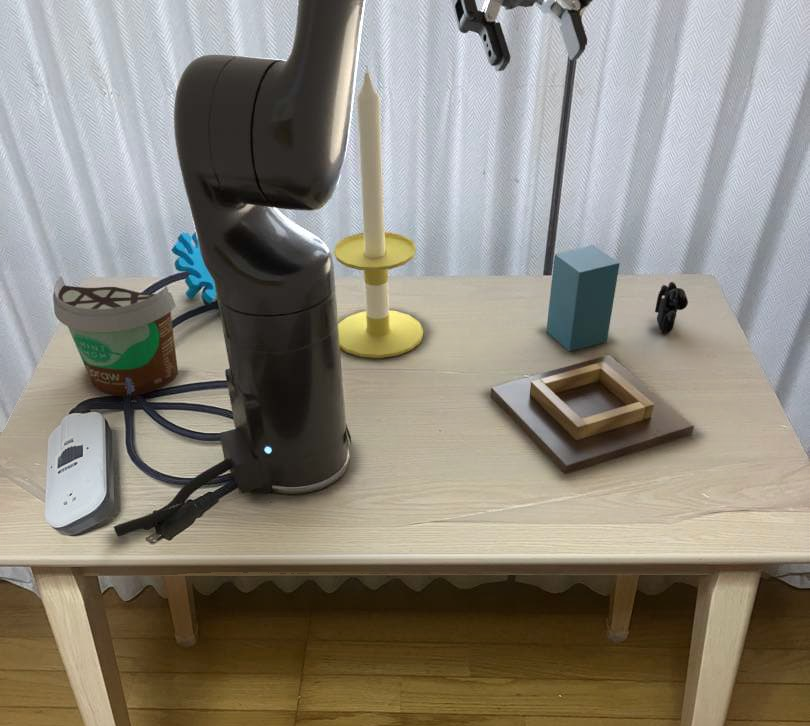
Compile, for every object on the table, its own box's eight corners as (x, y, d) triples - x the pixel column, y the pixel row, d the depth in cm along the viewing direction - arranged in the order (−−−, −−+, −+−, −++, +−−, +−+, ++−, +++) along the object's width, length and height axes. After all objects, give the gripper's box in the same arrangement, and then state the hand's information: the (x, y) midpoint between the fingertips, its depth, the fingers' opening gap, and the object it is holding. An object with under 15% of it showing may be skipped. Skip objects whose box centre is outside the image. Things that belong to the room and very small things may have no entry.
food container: (54, 395, 88) (22, 305, 81) (83, 363, 92) (56, 275, 85) (167, 409, 86) (144, 318, 79) (191, 375, 90) (172, 286, 83)
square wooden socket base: (565, 474, 77) (568, 452, 75) (490, 395, 86) (491, 374, 85) (692, 434, 81) (698, 412, 79) (607, 362, 90) (611, 341, 89)
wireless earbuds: (652, 312, 98) (660, 270, 95) (674, 313, 98) (684, 271, 94) (661, 344, 93) (670, 301, 89) (684, 345, 93) (694, 302, 89)
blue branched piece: (225, 313, 96) (161, 241, 94) (196, 343, 99) (134, 273, 97) (271, 282, 104) (213, 215, 102) (243, 310, 108) (187, 246, 106)
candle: (400, 304, 100) (395, 45, 82) (438, 344, 94) (441, 71, 75) (320, 324, 97) (295, 58, 79) (353, 366, 91) (334, 88, 72)
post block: (569, 351, 92) (579, 272, 86) (546, 331, 95) (554, 253, 89) (607, 341, 94) (620, 263, 87) (582, 321, 97) (593, 244, 91)
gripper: (439, -123, 79) (492, 46, 80) (571, -134, 84) (621, 27, 84) (415, -62, 87) (464, 92, 87) (538, -75, 91) (584, 73, 91)
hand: (541, 60), depth 85 cm, fingers open, 8 cm apart
